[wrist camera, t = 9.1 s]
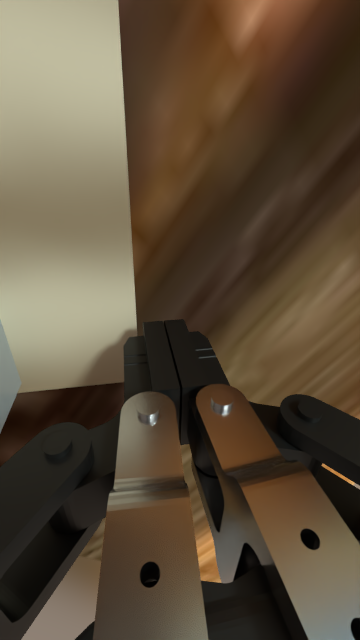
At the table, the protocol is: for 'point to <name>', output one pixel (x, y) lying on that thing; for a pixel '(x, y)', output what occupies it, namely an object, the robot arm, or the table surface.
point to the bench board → (64, 194)
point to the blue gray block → (7, 378)
